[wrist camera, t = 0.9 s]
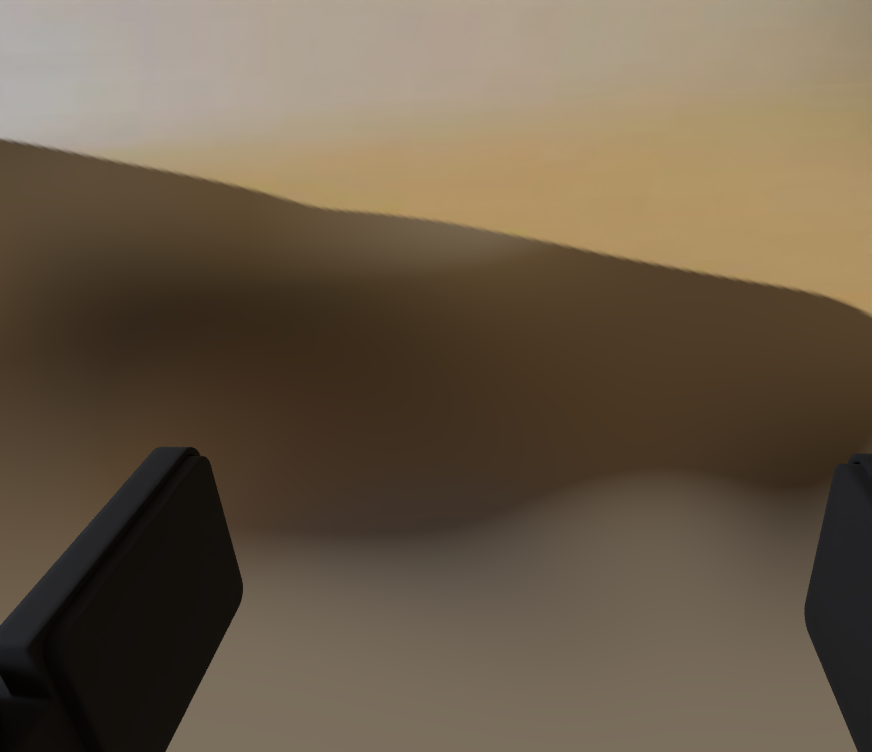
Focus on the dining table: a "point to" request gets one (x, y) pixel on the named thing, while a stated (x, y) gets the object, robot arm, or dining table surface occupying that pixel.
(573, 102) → the dining table surface
